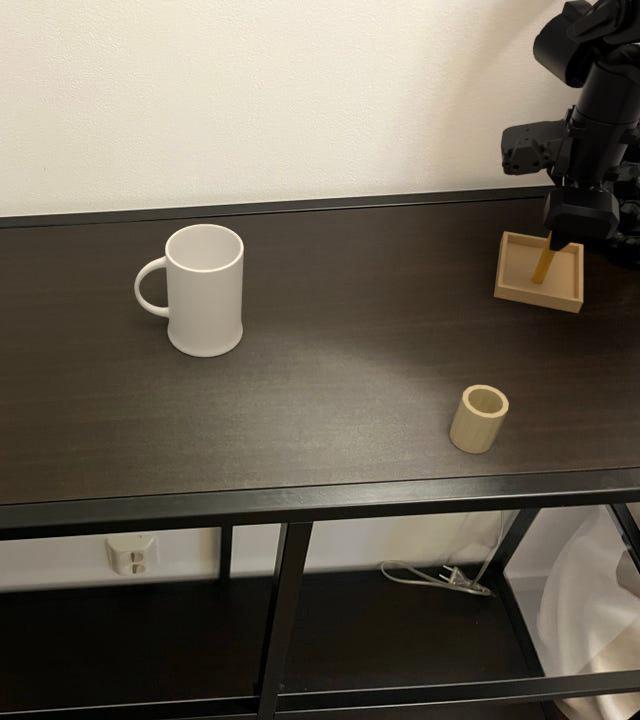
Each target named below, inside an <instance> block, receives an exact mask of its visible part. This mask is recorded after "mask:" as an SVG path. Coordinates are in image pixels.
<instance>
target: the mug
mask: <svg viewBox="0 0 640 720" xmlns="http://www.w3.org/2000/svg"><path fill="white" fill-rule="evenodd" d="M244 247H245V246H244V243H243V240H242V238H241V237H240V236H239V235H238V234H237V233H236V232H235V231H233V230H232V229H229V228H227V227H226V226H222V225H218V224H210V223H200V224H194V225H193V224H192V225H189V226H186V227H183V228H181V229H179V230H177V231H175V232H174V233H173V234H172V235H171V236H170V237H169V238H168V239H167V241H166V243H165V249H164V250H165V251H164V252H165V255H164V256H162V257H160V258H156V259H155V260H152V261H150V262H148V263H147V264H146V265H145V266H144V267H143V268H142V269H140V271H139V272H138V274H137V276H136V278H135V280H134V294H135V298H136V300H137V302H138V303H139V305H140V306H141V307H142V308H144V309H145V310H146V311H147V312H149V313H151V314H153V315H156V316H158V317H164V318H167V319H168V325H167V336H168V339H169V341H170V343H171V344H172V345H173V347H175V348H176V349H177V350H178V351H180V352H182V353H183V354H186V355H188V356H192V357H198V358H213V357H218V356H221V355H224V354H226V353H228V352H230V351H231V350H234V349H235V347H236V346H237V345H238V344H239V343H240V341H241V339H242V337H243V332H244V330H243V329H244V327H243V323H242V306H243V305H242V303H243V277H244V253H245V251H244V250H245V249H244ZM158 269H166V270H165V271H166V288H167V307H160V306H157V305H154V304H151V303H149V302H148V301H146V300H145V298H143V296H142V295H141V292H140V284H141V281H142V280H143V279H144V278H145V276H147V275H148V274H150V273H151V272H153V271H155V270H158Z"/></svg>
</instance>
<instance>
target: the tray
mask: <svg viewBox="0 0 640 720" xmlns="http://www.w3.org/2000/svg"><path fill="white" fill-rule="evenodd" d="M547 239H548V237H547V238H546V237H540V236H535V235H528V234H523V233H516V232H510V231H503V234H502V237H501V239H500V243H499V252H498V253H499V254H498V260H497V268H496V276H495V283H494V292H493V297H494V298H497V299H498V298H499V299H502V300H508V301H512V302H516V303H517V302H518V303H523V304H528V305H532V306H537V307H544V308H548V309H554V310H558V311H564V312H570V313H575V314H579V312H580V310H581V308H582V306H583V304H584V244H581V243H575V242H571V243H570V244H568V245H567V246H566V247H565V248H563V249H562V250H561V251H559V252H557V251H556V253H555V255H554V257H553V260H552V262H551V265H550V267H549V269H548V272H547V274H546V277H545V279H544V281H543V283H541V284H536V283H534V282H533V281H532V276H533V274H534V272H535V269H536V267H537V264H538V262H539V259H540V257H541V254H542V252H543V249H544V247H545V244H546V242H547Z"/></svg>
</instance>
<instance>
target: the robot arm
mask: <svg viewBox="0 0 640 720" xmlns="http://www.w3.org/2000/svg"><path fill="white" fill-rule="evenodd" d="M532 55H533V57H534V60H535V61H536V62H537V63H538V64H539V65H541V66H542V67H543V68H545V70H547V71H548V72H549V73H551V74H552V75H554V76H555V77H556V78H557V79H558V80H560V81H561V82H562V83H564V84H565V85H566V86H567V87H569V88H572V89H581V90H580V93H579V96H578V99H577V101H576V103H575V104H571V107H569V108H567V109H566V112H565V115H564V116H563V118H561V119H559V120H542V121H536V122H530V123H524V124H518V125H512V126H508V127H507V128H504V129H503V131H502V134H501V140H500V153H501V167H502V170H503V173H504V175H506V176H515V177H516V176H525V175H532V174H533V175H534V174H538V173H540V172H541V170H545V172H546V174H547V176H548V177H549V178H550V180H551V181H552V184H553V185H554V186H555V187H554V189H553V190H551V191H549V194H544V198H543V199H544V200H543V220H542V227H544V228H545V229H546V230H548V231H550V232H551V237H550V244H549V250H551V251H557V252H559V251H561V250H562V249H563V248H565V247H566V246H567V245H568V244H570V243H573V242H574V241H575V240H577V239H578V238H579V237H581V236H582V237H586V238H593V239H600V240H605V241H606V240H609V239H612V238H613V236H614V234H615V232H616V230H617V228H618V225H619V224H620V207H619V206H620V205H619V201H618V200H617V198H616V197H615V195H614V194H613V193H612V192H610V191H609V190H607V189H606V188H604V187H603V186H604V184H605V183H606V182H611V183H618V180H619V178H620V176H621V161H622V159H623V156H624V154H625V152H626V149H627V148H628V146H634V145H635V142H636V140H637V138H638V128H637V125H638V123H639V120H640V0H597V1H595V3H593V5H592V4H591V3H590V2H589V1H587V0H567V1H565V2H564V4H563V7H562V10H561V12H560V13H559V14H557V15H555V16H554V17H552V18H551V19H550V20H549V21H547V22H546V24H545V25H544V26H543V27H542V28H541V29H540V32H538V34H537V35H536V36H535V38H534V41H533V45H532Z"/></svg>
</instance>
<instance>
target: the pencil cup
mask: <svg viewBox="0 0 640 720" xmlns="http://www.w3.org/2000/svg"><path fill="white" fill-rule="evenodd" d="M509 405H510V402H509V401H508V398H507V396H506V395H505V394H504V393H503V392H502V391H500V389H497V388H495V387H493V386H490V385H487V384H475V385H471V386H468V387H467V388H466V389H465V390H464V391H463V392H462V395H461V398H460V401H459V402H458V406H457V408H456V412H455V414H454V417H453V419H452V422H451V426H450V429H449V433H448V434H449V438H450V441H451V443H452V444H453V445H454V446H455V447H456V448H458V449H459V450H460V451H462V452H464V453H468V454H472V455H473V454H474V455H477V454H483V453H485V452H487V451H489V450H490V449H491V448H492V446H493V444H494V442H495V440H496V438H497V437H498V433H499V431H500V430H501V429H500V428H501V427H502V425H503V422H504V420H505V417H506V415H507V413H508V411H509Z"/></svg>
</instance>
